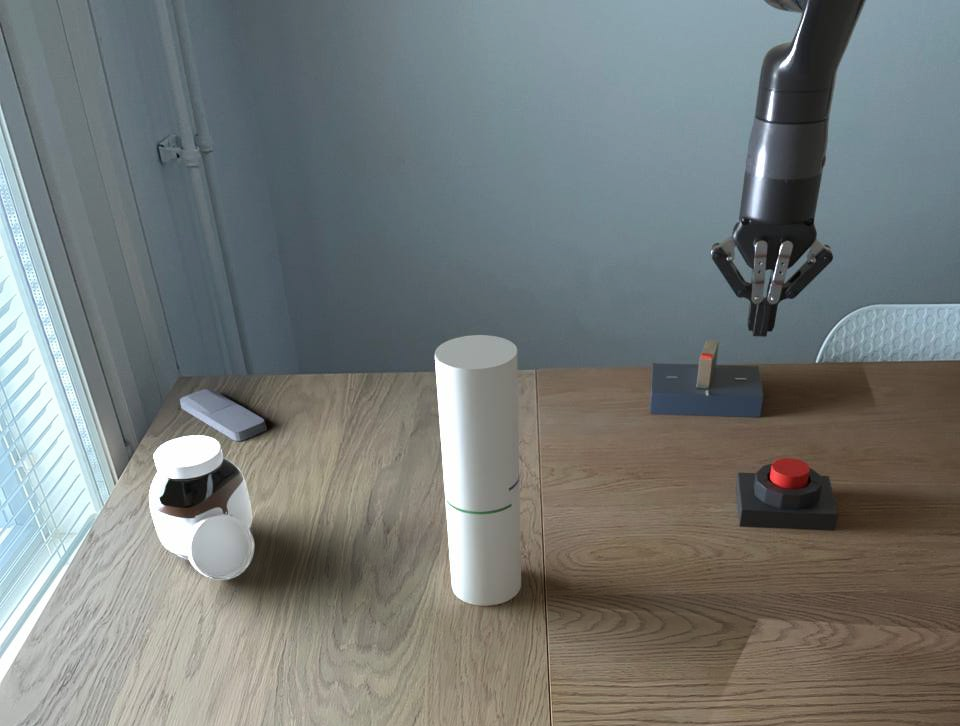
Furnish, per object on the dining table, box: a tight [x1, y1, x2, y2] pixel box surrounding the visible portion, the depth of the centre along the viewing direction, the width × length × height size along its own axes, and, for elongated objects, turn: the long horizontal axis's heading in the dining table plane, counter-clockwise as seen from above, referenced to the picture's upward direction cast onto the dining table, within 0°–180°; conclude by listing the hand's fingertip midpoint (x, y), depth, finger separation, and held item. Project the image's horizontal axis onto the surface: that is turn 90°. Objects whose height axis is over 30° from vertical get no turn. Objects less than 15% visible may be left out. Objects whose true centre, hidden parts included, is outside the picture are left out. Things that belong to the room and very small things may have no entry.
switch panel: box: [649, 362, 764, 418], centre depth 129 cm, size 14×10×3 cm
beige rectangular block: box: [697, 339, 720, 389], centre depth 127 cm, size 6×2×4 cm, turn 161°
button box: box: [735, 462, 839, 532], centre depth 108 cm, size 10×8×4 cm
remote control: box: [179, 388, 268, 442], centre depth 132 cm, size 5×2×15 cm
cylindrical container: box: [434, 334, 522, 607], centre depth 93 cm, size 7×7×25 cm
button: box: [770, 457, 811, 489], centre depth 106 cm, size 4×4×2 cm
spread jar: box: [148, 434, 255, 581], centre depth 103 cm, size 12×11×12 cm
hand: (758, 333), depth 109 cm, fingers closed
